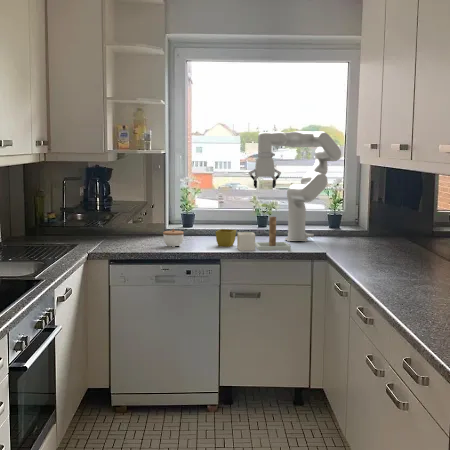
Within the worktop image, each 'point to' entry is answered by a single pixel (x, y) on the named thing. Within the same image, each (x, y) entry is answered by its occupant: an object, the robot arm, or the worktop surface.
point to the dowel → (272, 231)
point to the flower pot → (225, 237)
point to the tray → (266, 247)
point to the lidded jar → (173, 238)
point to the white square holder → (245, 241)
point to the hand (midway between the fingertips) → (264, 187)
